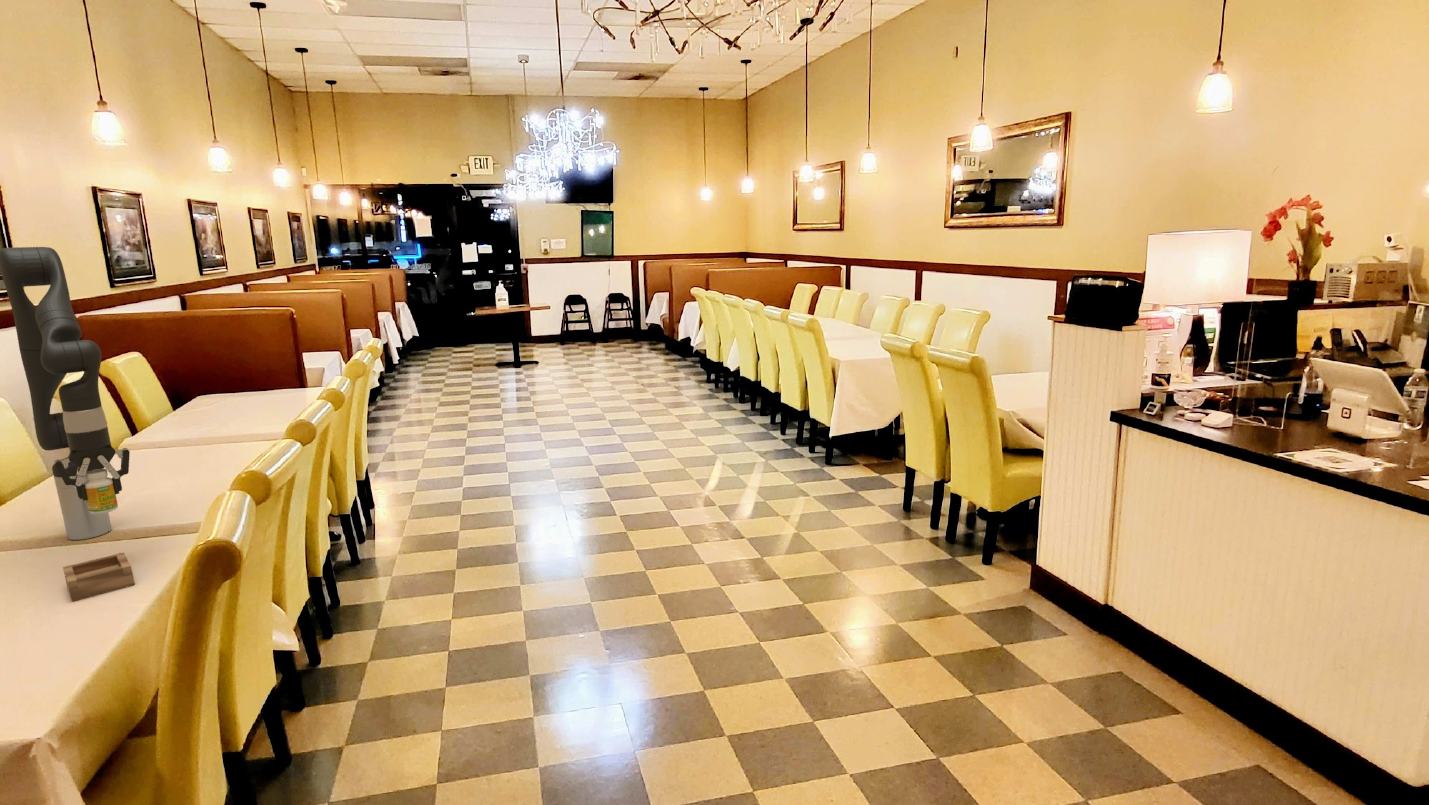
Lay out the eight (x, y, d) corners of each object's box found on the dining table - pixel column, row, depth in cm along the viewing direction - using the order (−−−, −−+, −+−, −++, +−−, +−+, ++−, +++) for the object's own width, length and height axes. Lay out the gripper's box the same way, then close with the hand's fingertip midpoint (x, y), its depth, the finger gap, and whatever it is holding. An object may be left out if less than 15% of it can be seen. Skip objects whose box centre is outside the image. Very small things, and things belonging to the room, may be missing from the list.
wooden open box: (67, 585, 171) (62, 567, 170) (127, 570, 179) (123, 552, 178) (72, 601, 164) (67, 582, 163) (134, 584, 171) (131, 566, 170)
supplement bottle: (102, 515, 176) (94, 475, 174) (83, 513, 177) (74, 474, 175) (124, 507, 181) (116, 468, 179) (105, 505, 183) (97, 467, 180)
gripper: (122, 418, 182) (136, 485, 186) (44, 430, 172) (59, 500, 176) (127, 424, 177) (141, 492, 181) (46, 436, 167) (63, 508, 171)
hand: (101, 496), depth 179 cm, fingers closed on supplement bottle, 5 cm apart
